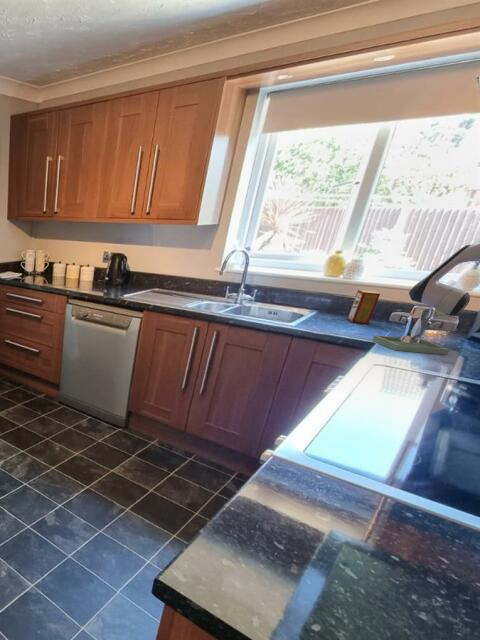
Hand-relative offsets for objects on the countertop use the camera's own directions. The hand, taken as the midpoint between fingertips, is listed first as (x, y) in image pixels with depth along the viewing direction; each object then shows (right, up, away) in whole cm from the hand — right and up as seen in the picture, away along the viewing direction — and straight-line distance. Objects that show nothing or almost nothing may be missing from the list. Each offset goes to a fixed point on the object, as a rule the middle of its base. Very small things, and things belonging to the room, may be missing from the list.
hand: (417, 323), depth 175 cm
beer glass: (0, -8, +4) cm, 9 cm away
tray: (0, -10, +4) cm, 11 cm away
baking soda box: (+19, +8, +48) cm, 52 cm away
